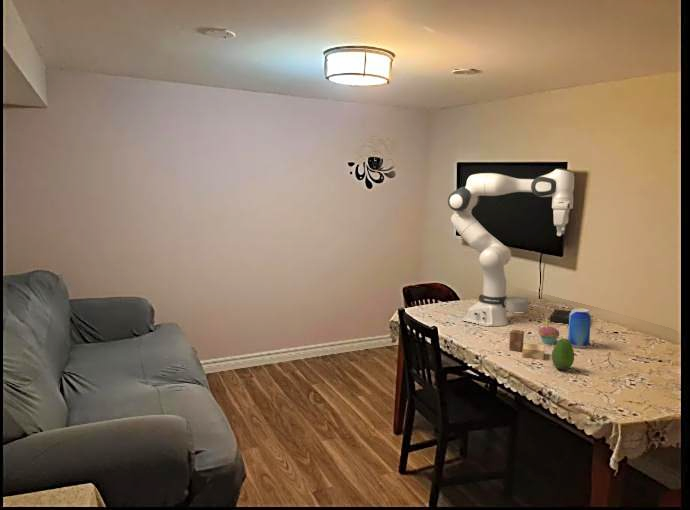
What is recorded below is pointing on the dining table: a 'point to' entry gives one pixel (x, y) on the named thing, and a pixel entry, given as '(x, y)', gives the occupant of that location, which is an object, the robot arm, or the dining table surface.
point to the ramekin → (517, 304)
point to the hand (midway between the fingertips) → (560, 234)
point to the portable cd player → (560, 316)
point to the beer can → (579, 327)
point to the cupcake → (548, 334)
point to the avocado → (563, 354)
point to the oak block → (533, 351)
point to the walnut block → (516, 340)
